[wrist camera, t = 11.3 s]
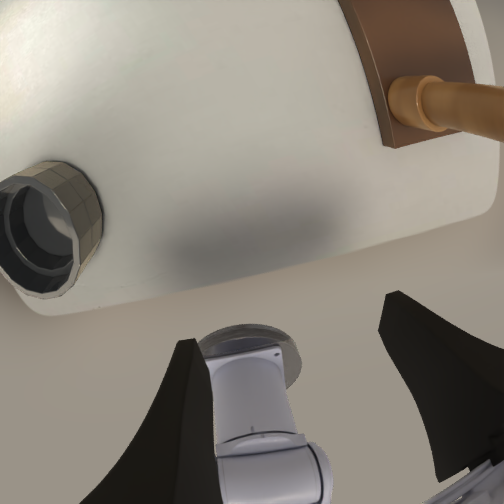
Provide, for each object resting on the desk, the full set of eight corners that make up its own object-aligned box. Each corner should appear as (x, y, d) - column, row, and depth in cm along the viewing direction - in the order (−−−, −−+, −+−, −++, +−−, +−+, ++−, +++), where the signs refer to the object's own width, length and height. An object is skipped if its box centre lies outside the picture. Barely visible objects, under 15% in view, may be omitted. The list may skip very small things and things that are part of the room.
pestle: (427, 127, 15) (529, 156, 8) (389, 126, 15) (499, 154, 7) (423, 79, 14) (528, 88, 6) (384, 74, 14) (496, 72, 6)
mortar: (119, 252, 18) (100, 289, 14) (40, 272, 18) (16, 305, 14) (86, 143, 14) (52, 155, 11) (6, 181, 14) (-30, 200, 10)
